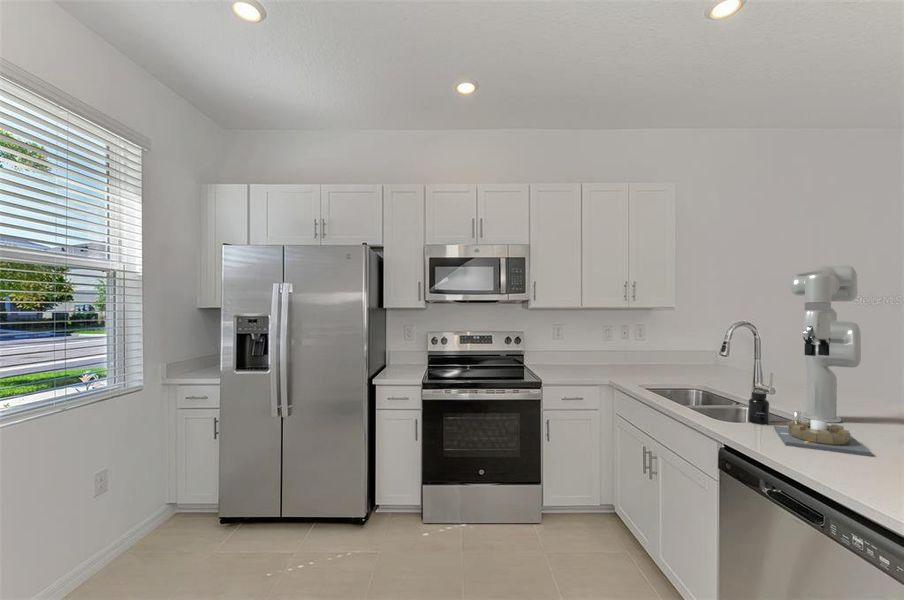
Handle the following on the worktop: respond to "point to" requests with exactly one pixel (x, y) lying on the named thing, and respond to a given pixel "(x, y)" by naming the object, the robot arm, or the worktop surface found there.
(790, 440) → the nut base
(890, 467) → the worktop surface
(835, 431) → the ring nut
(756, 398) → the supplement bottle
